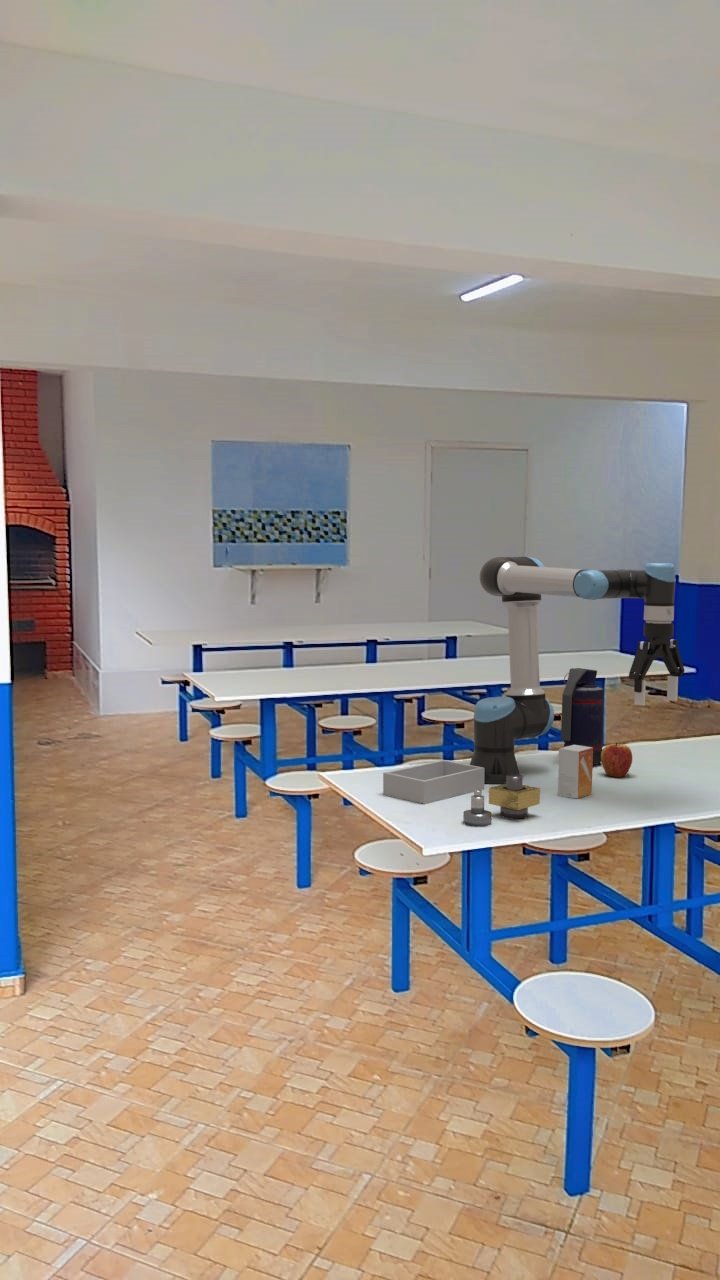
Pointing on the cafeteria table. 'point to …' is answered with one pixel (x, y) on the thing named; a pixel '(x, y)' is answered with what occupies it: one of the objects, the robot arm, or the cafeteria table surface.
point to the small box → (575, 771)
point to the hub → (477, 812)
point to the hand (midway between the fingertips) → (656, 702)
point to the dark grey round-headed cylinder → (515, 785)
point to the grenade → (583, 711)
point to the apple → (616, 759)
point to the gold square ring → (514, 797)
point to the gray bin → (433, 781)
